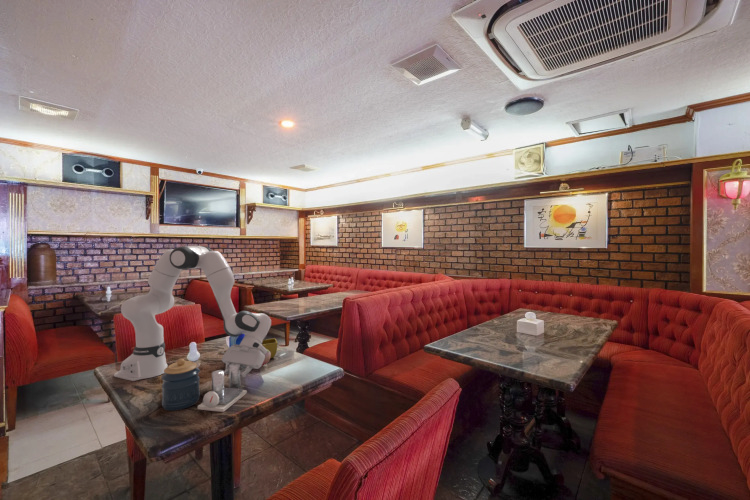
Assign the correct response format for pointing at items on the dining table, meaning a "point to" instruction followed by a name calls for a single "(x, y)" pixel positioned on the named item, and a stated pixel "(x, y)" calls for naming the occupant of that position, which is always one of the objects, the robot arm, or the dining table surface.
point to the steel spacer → (234, 375)
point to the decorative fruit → (266, 357)
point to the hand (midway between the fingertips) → (233, 375)
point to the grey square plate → (229, 395)
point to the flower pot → (270, 346)
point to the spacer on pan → (218, 383)
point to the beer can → (236, 340)
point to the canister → (180, 385)
